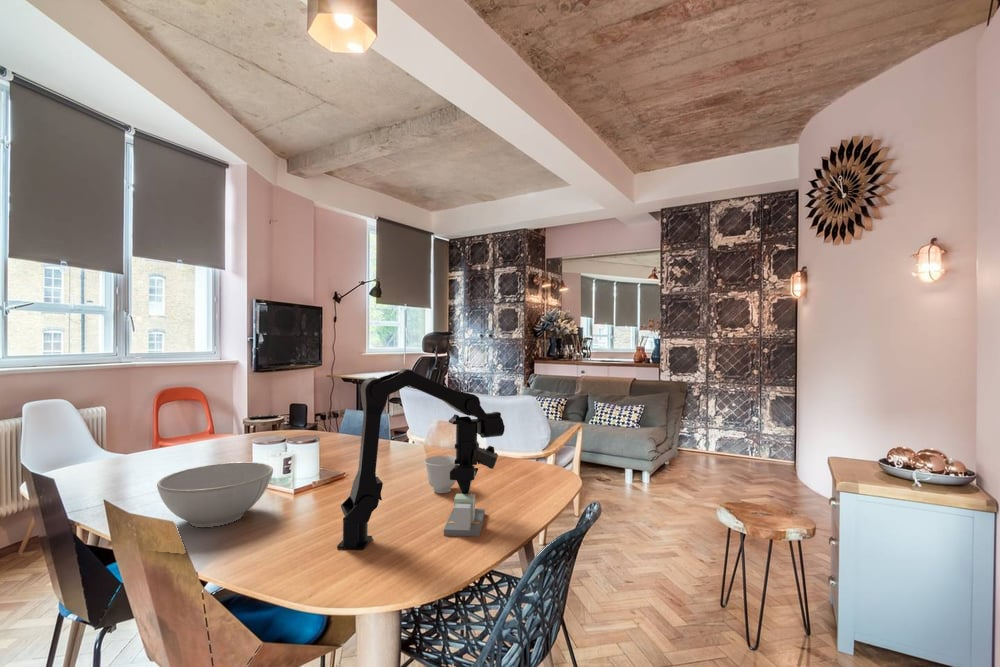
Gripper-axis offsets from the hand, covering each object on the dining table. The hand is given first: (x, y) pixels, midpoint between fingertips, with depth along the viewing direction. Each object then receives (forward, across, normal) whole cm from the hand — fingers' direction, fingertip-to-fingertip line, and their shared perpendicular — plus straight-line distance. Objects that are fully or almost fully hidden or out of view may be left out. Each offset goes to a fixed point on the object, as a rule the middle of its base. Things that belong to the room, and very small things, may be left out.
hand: (466, 497), depth 121 cm
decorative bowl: (+7, -2, +68) cm, 69 cm away
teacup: (+7, +27, +11) cm, 30 cm away
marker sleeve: (+5, -3, 0) cm, 6 cm away
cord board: (+7, -1, 0) cm, 7 cm away
